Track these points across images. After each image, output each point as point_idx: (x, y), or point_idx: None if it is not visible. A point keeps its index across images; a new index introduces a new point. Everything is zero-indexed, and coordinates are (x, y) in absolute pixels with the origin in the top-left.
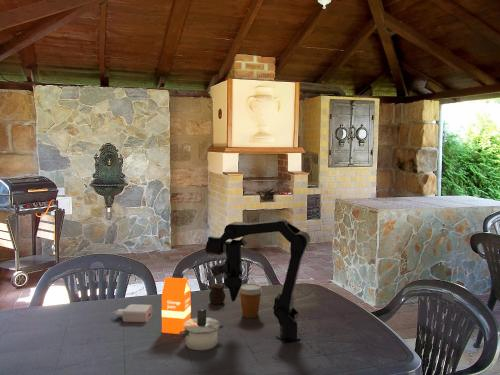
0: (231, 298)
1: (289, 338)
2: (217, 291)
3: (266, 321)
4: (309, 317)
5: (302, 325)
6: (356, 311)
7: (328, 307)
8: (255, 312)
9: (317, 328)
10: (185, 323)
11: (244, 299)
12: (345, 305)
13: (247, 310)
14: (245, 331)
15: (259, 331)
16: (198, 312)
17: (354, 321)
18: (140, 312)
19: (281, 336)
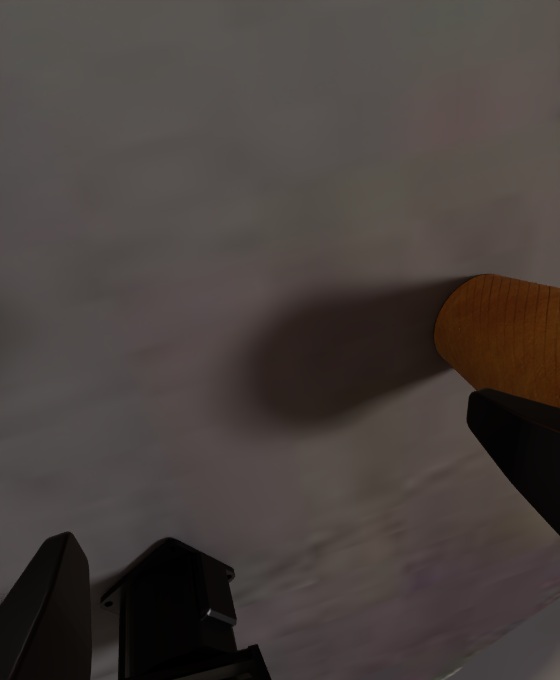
0: (10, 601)
1: (119, 623)
2: None
3: (380, 428)
4: (425, 561)
5: (338, 571)
6: (468, 646)
7: (514, 576)
8: (459, 373)
9: (312, 620)
10: None
11: (542, 354)
12: (522, 607)
13: (468, 336)
14: (213, 365)
15: (231, 439)
16: None
17: (385, 672)
18: None
19: (144, 580)
